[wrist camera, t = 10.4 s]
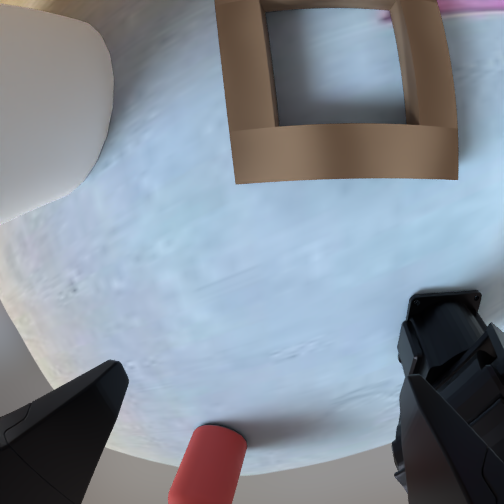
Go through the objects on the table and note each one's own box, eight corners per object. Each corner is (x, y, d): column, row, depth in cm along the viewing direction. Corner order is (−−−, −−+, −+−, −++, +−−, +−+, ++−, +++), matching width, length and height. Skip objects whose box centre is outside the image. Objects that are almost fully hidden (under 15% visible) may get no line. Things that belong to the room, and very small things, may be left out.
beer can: (192, 416, 30) (155, 502, 20) (248, 428, 29) (223, 521, 19) (198, 443, 33) (168, 518, 22) (247, 453, 32) (226, 533, 21)
